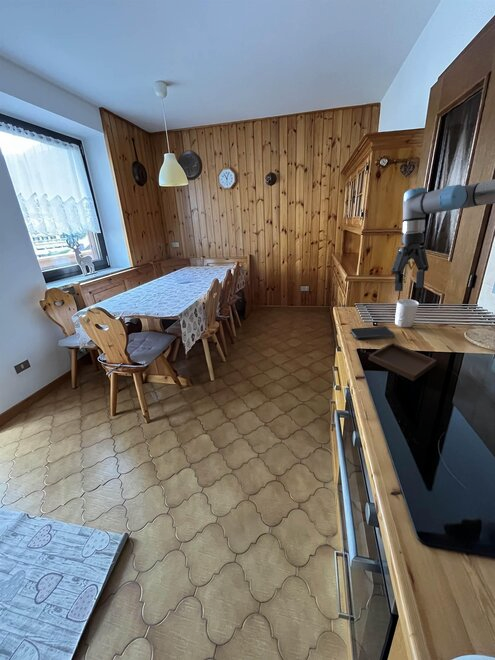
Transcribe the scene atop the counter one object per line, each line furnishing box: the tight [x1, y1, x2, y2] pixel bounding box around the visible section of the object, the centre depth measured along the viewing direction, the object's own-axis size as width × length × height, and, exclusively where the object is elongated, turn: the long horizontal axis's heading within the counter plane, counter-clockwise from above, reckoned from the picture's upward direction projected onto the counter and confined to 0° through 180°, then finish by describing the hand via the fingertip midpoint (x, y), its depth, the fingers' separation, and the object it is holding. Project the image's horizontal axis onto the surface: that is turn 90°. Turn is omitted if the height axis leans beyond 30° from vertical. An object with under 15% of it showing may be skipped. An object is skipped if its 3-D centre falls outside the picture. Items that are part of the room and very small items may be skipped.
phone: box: [350, 326, 395, 341], centre depth 114 cm, size 8×1×15 cm
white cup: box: [394, 298, 420, 328], centre depth 119 cm, size 8×8×10 cm
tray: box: [368, 342, 437, 382], centre depth 96 cm, size 16×14×2 cm
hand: (409, 289), depth 112 cm, fingers open, 13 cm apart
